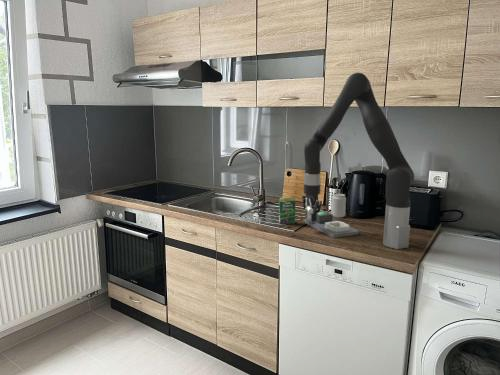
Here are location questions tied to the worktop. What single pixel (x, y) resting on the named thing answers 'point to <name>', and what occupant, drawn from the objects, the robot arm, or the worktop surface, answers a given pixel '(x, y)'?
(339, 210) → the can
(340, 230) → the pallet
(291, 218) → the coffee box
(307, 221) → the billet
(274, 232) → the worktop surface
